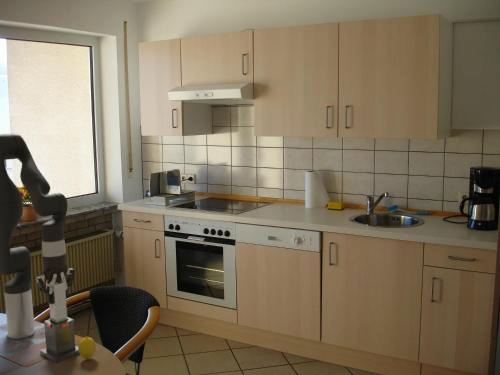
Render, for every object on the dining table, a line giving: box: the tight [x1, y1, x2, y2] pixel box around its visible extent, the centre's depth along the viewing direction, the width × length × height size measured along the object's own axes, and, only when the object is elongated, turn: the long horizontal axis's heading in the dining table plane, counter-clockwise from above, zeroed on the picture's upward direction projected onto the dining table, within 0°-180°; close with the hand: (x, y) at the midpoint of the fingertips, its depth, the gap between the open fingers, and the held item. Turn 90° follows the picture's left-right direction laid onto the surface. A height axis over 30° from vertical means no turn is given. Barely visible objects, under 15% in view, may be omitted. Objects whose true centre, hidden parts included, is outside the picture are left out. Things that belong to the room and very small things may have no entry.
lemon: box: [78, 336, 97, 360], centre depth 182 cm, size 6×6×8 cm
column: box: [48, 281, 69, 324], centre depth 185 cm, size 4×4×19 cm
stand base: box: [39, 316, 80, 363], centre depth 186 cm, size 10×10×12 cm
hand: (57, 301), depth 185 cm, fingers closed on column, 4 cm apart
